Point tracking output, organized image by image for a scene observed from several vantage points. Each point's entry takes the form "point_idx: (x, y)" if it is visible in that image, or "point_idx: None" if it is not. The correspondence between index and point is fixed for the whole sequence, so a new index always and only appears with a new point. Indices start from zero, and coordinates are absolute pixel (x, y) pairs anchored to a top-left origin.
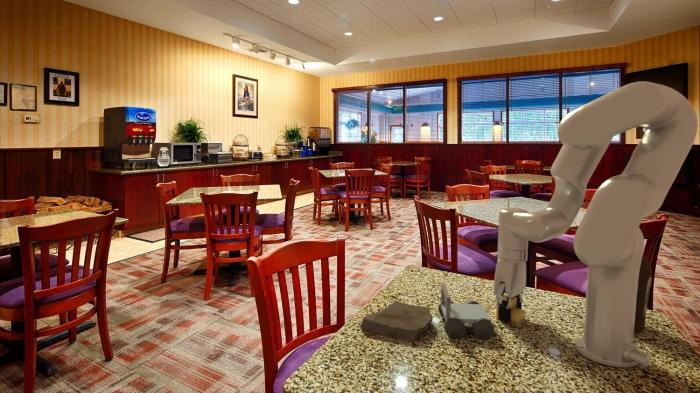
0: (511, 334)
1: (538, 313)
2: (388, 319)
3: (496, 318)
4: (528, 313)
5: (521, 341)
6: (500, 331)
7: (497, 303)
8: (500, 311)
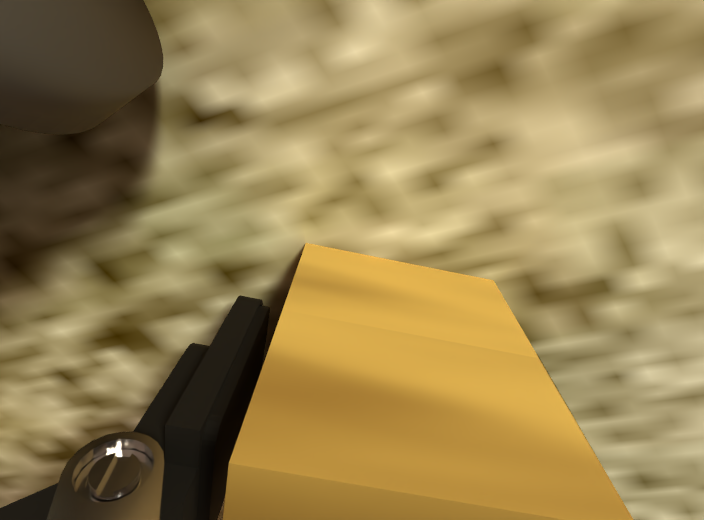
0: (68, 422)
1: (652, 510)
2: None
3: (304, 247)
4: (620, 455)
5: (20, 487)
6: (44, 345)
7: (259, 382)
8: (158, 397)
